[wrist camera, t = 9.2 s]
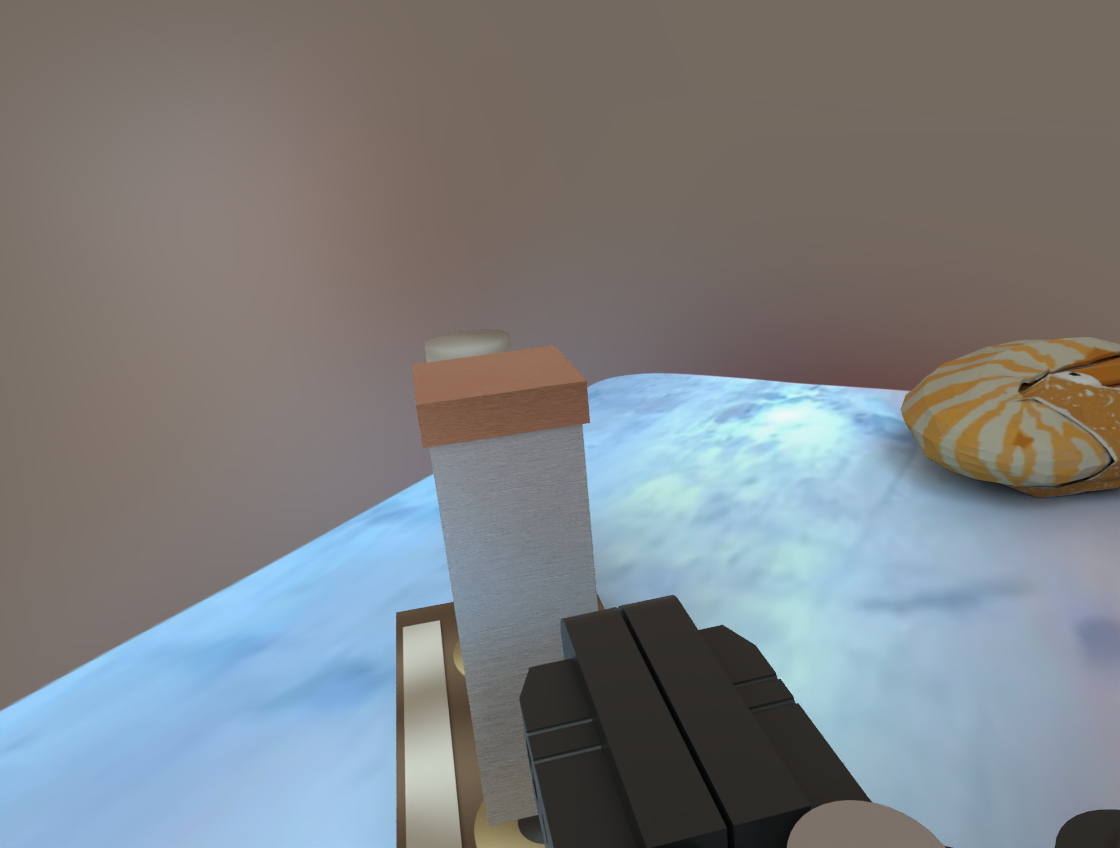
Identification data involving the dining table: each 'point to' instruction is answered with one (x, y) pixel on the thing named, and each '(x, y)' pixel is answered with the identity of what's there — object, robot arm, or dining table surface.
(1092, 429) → the nautilus
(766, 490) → the dining table surface
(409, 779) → the wooden base plate
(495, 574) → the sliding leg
